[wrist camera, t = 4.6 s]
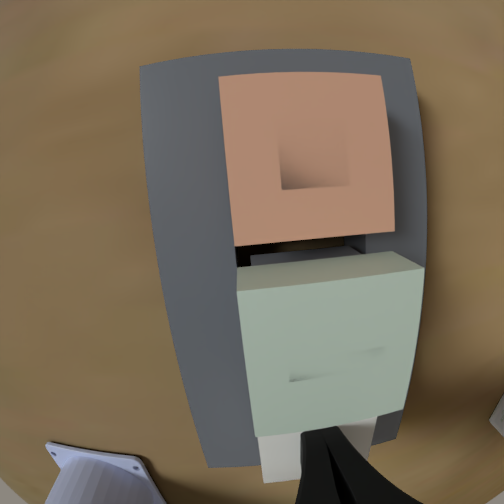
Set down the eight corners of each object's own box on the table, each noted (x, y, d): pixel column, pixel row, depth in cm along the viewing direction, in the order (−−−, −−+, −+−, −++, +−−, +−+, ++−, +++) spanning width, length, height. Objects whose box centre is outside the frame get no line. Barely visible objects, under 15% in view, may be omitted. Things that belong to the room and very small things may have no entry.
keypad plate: (380, 411, 16) (395, 438, 13) (211, 435, 15) (208, 467, 13) (383, 75, 11) (410, 58, 9) (157, 85, 11) (139, 66, 9)
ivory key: (340, 403, 15) (365, 465, 10) (258, 415, 15) (263, 483, 10) (344, 334, 14) (381, 392, 9) (249, 346, 14) (254, 414, 9)
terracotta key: (343, 212, 12) (394, 231, 8) (236, 222, 12) (234, 246, 8) (334, 107, 11) (380, 75, 7) (226, 113, 11) (218, 76, 7)
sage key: (356, 339, 12) (403, 408, 8) (249, 354, 12) (255, 437, 7) (358, 233, 11) (424, 268, 7) (237, 245, 11) (236, 291, 6)
